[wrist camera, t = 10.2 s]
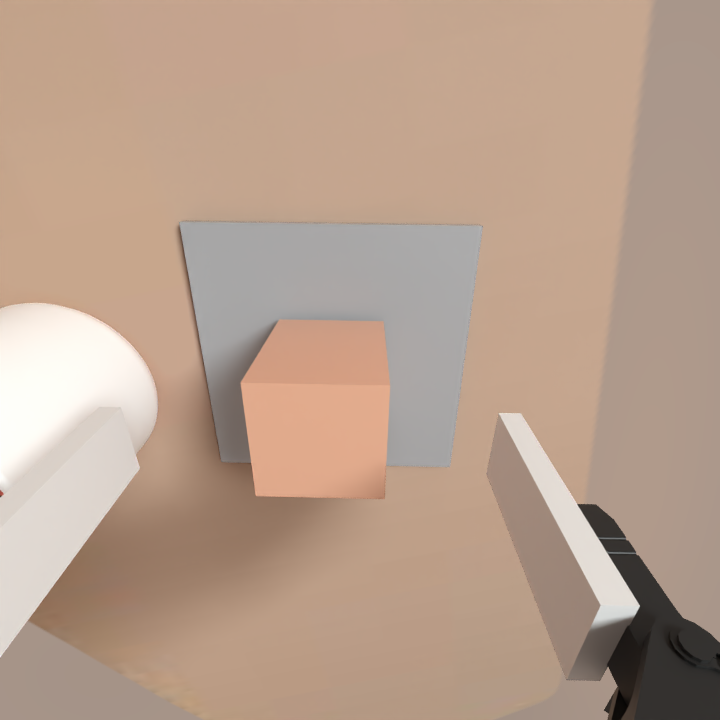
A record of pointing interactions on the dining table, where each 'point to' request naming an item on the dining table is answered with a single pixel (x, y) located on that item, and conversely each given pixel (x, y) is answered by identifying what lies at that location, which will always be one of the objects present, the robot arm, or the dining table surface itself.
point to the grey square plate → (339, 313)
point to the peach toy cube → (319, 410)
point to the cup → (64, 382)
